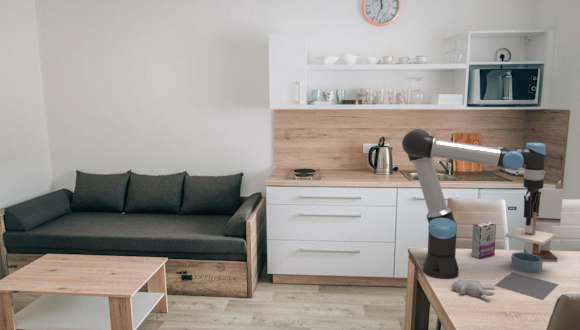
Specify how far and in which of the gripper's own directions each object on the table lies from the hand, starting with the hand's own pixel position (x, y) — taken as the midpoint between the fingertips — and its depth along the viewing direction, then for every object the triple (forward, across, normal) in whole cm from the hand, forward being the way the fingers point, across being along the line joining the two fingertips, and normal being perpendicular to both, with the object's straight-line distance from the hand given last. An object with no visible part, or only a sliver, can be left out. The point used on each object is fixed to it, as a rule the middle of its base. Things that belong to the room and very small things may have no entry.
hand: (530, 231), depth 189 cm
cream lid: (+3, 0, 0) cm, 3 cm away
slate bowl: (+19, +4, +2) cm, 19 cm away
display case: (+19, +24, +3) cm, 31 cm away
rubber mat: (+19, -16, -6) cm, 26 cm away
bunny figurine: (+19, -39, +6) cm, 44 cm away
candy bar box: (+19, +6, +23) cm, 30 cm away
